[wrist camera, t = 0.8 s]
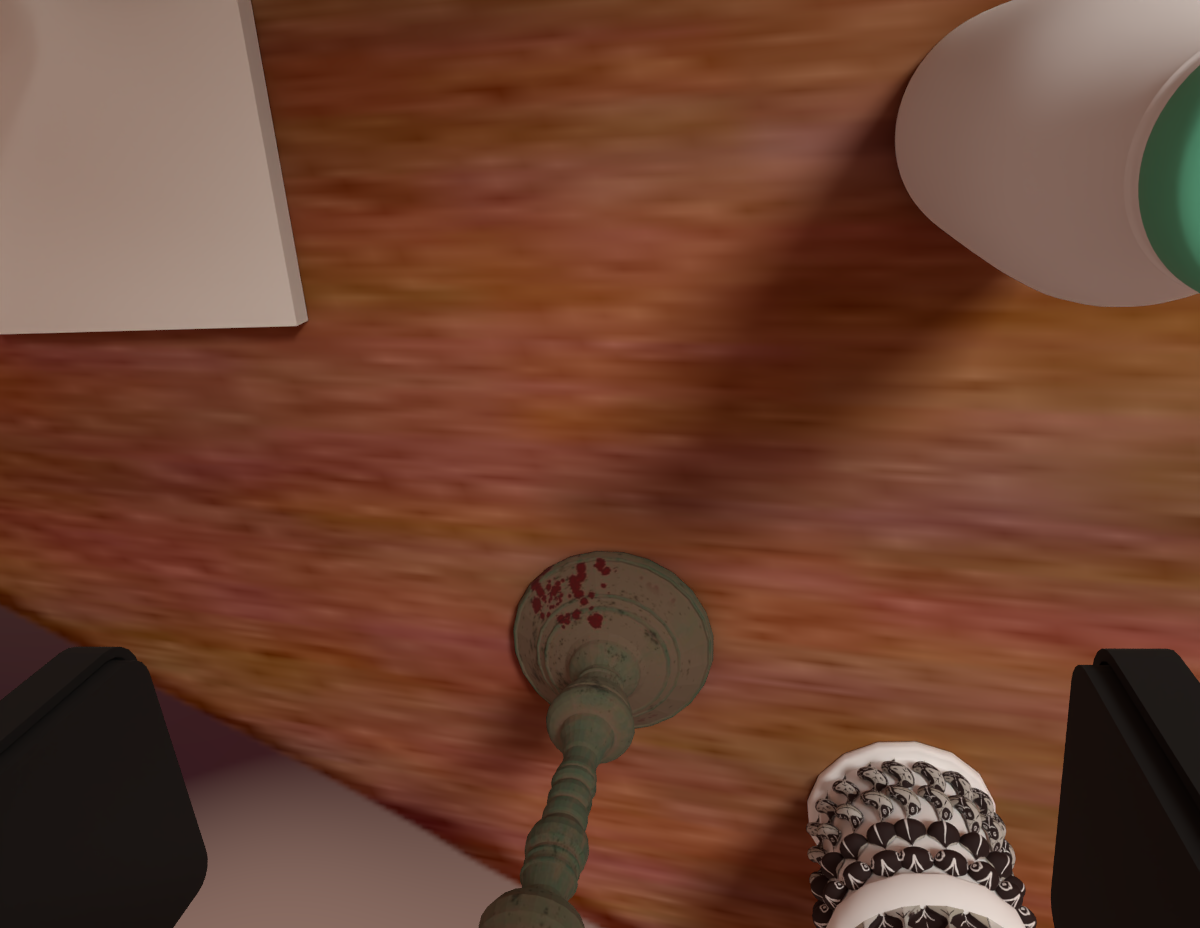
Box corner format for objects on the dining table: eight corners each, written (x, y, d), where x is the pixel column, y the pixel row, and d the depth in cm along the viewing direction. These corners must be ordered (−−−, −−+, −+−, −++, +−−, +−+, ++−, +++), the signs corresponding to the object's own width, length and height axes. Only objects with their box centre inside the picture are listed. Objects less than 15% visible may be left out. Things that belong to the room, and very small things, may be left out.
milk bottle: (894, 253, 34) (1054, 439, 16) (887, 23, 31) (1070, -76, 13) (1123, 227, 32) (1598, 399, 14) (1137, -17, 30) (1743, -195, 11)
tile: (-92, -26, 36) (-115, -29, 35) (239, -61, 34) (225, -65, 33) (13, 328, 41) (-4, 334, 40) (308, 320, 39) (297, 326, 38)
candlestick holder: (666, 521, 39) (451, 1510, 12) (744, 693, 42) (718, 1836, 14) (481, 585, 42) (-44, 1515, 15) (566, 742, 45) (255, 1790, 17)
